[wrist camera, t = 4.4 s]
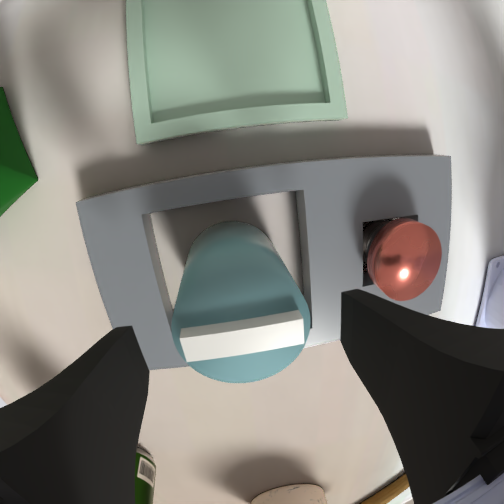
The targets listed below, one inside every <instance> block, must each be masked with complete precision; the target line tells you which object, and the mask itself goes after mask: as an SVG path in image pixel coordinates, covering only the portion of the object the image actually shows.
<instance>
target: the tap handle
mask: <svg viewBox="0 0 504 504" xmlns="http://www.w3.org/2000/svg"><path fill="white" fill-rule="evenodd" d="M408 487H410V486H409V482H408V479H407V476H406V473H405V474H404V475H403V476H401V477H400V478H398V479H397V480H396V481H394V482H393V483H391V484H390V485H388V486H387V487H385V488H384V489H382V490H381V491H379V492H378V493H376V494H374V495H373V496H371V497H370V498H368V499H367V500H365V501H363V502H362V503H360V504H387V503H388V502H389V501H391V500H392V499H394V498H395V497H396V496H398V495H399V494H400V493H402V492H403V491H404V490H406V489H407V488H408Z"/></svg>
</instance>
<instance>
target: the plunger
mask: <svg viewBox="0 0 504 504" xmlns="http://www.w3.org/2000/svg"><path fill="white" fill-rule="evenodd" d="M441 258H442V248H441V243H440V240H439V237H438V235H437V234H436V232H435V231H434V230H433V229H432V228H431V227H429V226H427V225H425V224H423V223H420V222H418V221H415V220H413V219H410V218H399V219H395V220H393V221H391V222H390V221H388V220H377V221H375V222H373V223H371V224H370V225H369V226H368V227H367V228H366V229H365V230H364V232H363V260H364V261H365V262H366V263H367V269H368V273H369V276H370V278H371V280H372V282H373V283H374V284H375V285H376V286H377V287H378V288H379V289H380V290H381V291H382V292H384V293H385V294H386V295H387V296H388V297H389V298H391V299H393V300H396V301H407V300H411V299H413V298H415V297H417V296H419V295H420V294H422V293H423V292H424V291H425V290H426V289H427V288H428V287H429V286H430V285H431V283H432V282H433V280H434V279H435V277H436V275H437V273H438V270H439V267H440V263H441Z"/></svg>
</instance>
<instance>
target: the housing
mask: <svg viewBox="0 0 504 504" xmlns="http://www.w3.org/2000/svg"><path fill="white" fill-rule="evenodd" d="M295 190H296V200H297V210H298V221H299V233H300V245H301V258H302V272H303V287H304V298H305V301H306V303H307V305H308V308H309V312H310V320H311V321H310V331H309V336H308V339H307V342H306V344H305V346H304V348H306V347H311V346H316V345H320V344H324V343H329V342H333V341H337V340H340V334H341V292H344V291H349V290H354V289H360V290H363V291H366V292H369V293H371V294H374V295H376V296H379V297H381V298H384V299H386V300H389V301H391V302H393V303H396V304H398V305H401V306H403V307H406V308H409V309H411V310H414V311H417V312H420V313H423V314H426V315H429V314H432V313H435V312H438V311H440V310H441V304H442V299H443V292H444V286H445V279H446V271H447V262H448V253H449V241H450V227H451V200H452V178H451V156H444V155H379V156H358V157H341V158H327V159H315V160H304V161H294V162H284V163H275V164H267V165H258V166H251V167H243V168H236V169H229V170H222V171H216V172H209V173H203V174H197V175H191V176H186V177H180V178H175V179H169V180H164V181H159V182H154V183H149V184H144V185H139V186H135V187H130V188H125V189H121V190H117V191H112V192H108V193H104V194H100V195H96V196H92V197H88V198H85V199H83V200H80V201H78V202H76V206H77V210H78V215H79V219H80V224H81V228H82V232H83V236H84V240H85V244H86V247H87V251H88V255H89V258H90V262H91V265H92V269H93V272H94V275H95V279H96V282H97V285H98V288H99V291H100V294H101V297H102V300H103V303H104V306H105V309H106V311H107V314H108V317H109V320H110V322H111V325H112V328H113V329H114V328H116V327H123V326H132V327H133V330H134V333H135V335H136V338H137V341H138V343H139V346H140V349H141V351H142V354H143V356H144V359H145V361H146V364H147V366H148V369H149V370H155V369H167V368H178V367H187V366H189V365H188V364H187V363H186V362H185V361H184V359H183V358H182V357H181V356H180V354H179V352H178V351H177V349H176V346H175V344H174V341H173V337H172V329H171V324H172V317H173V309H172V306H171V302H170V298H169V295H168V291H167V287H166V283H165V279H164V275H163V271H162V267H161V262H160V258H159V254H158V250H157V245H156V241H155V236H154V231H153V227H152V222H151V217H150V213H153V212H158V211H164V210H169V209H175V208H180V207H186V206H192V205H198V204H204V203H210V202H217V201H223V200H229V199H236V198H243V197H250V196H257V195H264V194H272V193H279V192H287V191H295ZM397 217H403V218H410V219H413V220H415V221H418V222H420V223H423V224H425V225H427V226H429V227H431V228H432V229H433V230H434V231H435V232H436V234H437V235H438V237H439V240H440V243H441V248H442V258H441V263H440V267H439V270H438V273H437V275H436V277H435V279H434V280H433V282H432V283H431V285H430V286H429V287H428V288H427V289H426V290H425V291H424V292H423V293H422V294H420V295H419V296H417V297H415V298H413V299H411V300H407V301H396V300H393V299H391V298H389V297H388V296H387V295H386V294H385V293H384V292H382V291H381V290H380V289H379V288H378V287H377V286H376V285H375V284H374V283H373V282H372V280H371V278H370V276H369V273H368V272H367V273H363V222H368V221H375V220H382V219H389V218H397Z"/></svg>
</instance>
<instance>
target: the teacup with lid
mask: <svg viewBox="0 0 504 504" xmlns="http://www.w3.org/2000/svg"><path fill="white" fill-rule="evenodd" d="M251 504H328V503H327V500H326V497H325V494H324V491H323V489H322V488H321V487H319V486H317V485H312V484H296V485H289V486H283V487H279V488H275V489H272V490H269V491H266V492H264V493H262V494H260V495H258V496H257V497H255V498H254V499H253V500H252V502H251Z"/></svg>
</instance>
